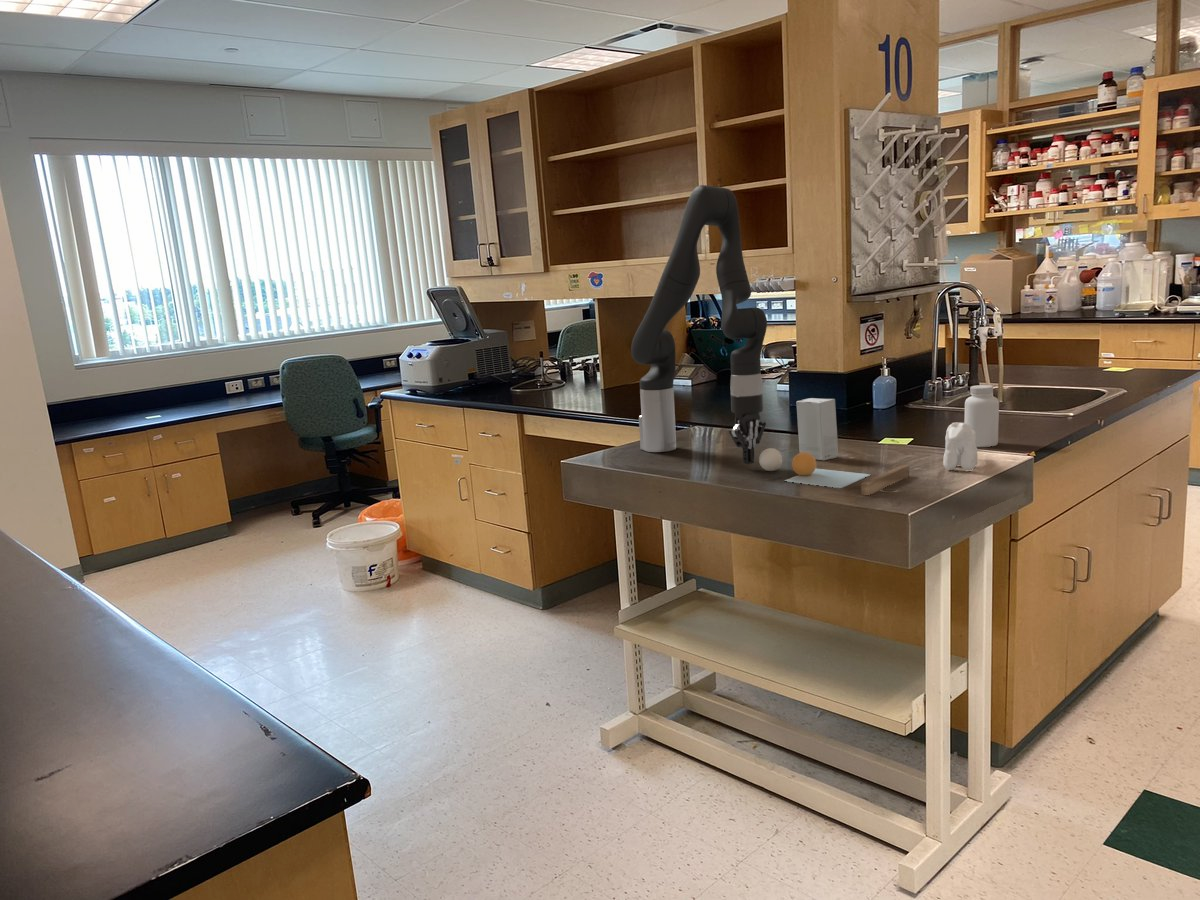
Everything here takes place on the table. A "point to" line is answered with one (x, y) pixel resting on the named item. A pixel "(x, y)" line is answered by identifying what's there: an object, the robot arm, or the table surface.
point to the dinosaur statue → (960, 447)
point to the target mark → (829, 478)
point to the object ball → (804, 464)
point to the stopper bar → (884, 480)
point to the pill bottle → (983, 415)
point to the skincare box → (817, 428)
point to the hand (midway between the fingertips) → (748, 463)
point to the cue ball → (770, 459)
